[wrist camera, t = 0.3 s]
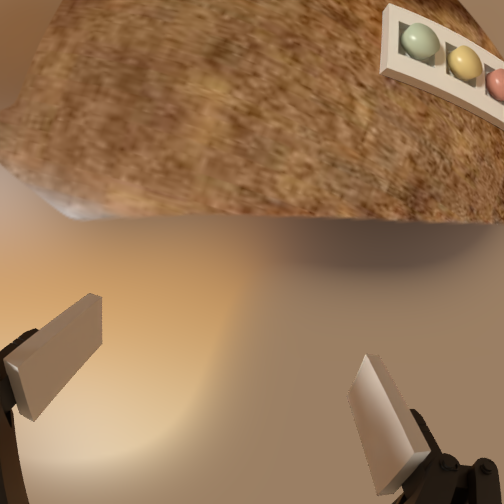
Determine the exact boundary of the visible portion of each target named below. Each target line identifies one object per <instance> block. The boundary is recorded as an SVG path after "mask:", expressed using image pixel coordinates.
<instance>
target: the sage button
mask: <svg viewBox="0 0 504 504" xmlns="http://www.w3.org/2000/svg"><path fill="white" fill-rule="evenodd" d="M400 41H401V45H402V47H403V49H404V50H405V51H406V52H407V53H408V54H409V55H410V56H411V57H413V58H415V59H417V60H426V59H427V58H429V57H430V56H432V55H433V54H435V53H436V52H438V51H439V49H440V42H439V39H438V37H437V35H436V34H435V32H434V31H433V30H432V29H431V28H429V27H428V26H426V25H424V24H422V23H413V24H412V25H410V26H409V27H408V28H407V29H406V30H405V31H404V32H403V33H402V35H401V38H400Z"/></svg>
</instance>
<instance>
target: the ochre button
mask: <svg viewBox="0 0 504 504" xmlns="http://www.w3.org/2000/svg"><path fill="white" fill-rule="evenodd" d="M447 63H448V66H449V68H450V70H451V72H452V73H453V74H454V75H455V76H456V77H457V78H458V79H460V80H463V81H468V80H470V79H473V78H475V77H477V76H480V75H481V73H482V70H483V67H482V63H481V60H480V58H479V56H478V55H477V54H476V52H475V51H474V50H473V49H471V48H470V47H468V46H465V45H462V46H460V47H458V48H456V49H455V50H453V51H451V52H450V53H449V54H448V56H447Z"/></svg>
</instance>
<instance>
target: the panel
mask: <svg viewBox="0 0 504 504" xmlns="http://www.w3.org/2000/svg"><path fill="white" fill-rule="evenodd" d="M413 23H422V24H424V25H426V26H428V27H429V28H431V29H432V30H433V31H434V32H435V34H436V35H437V37H438V39H439V42H440V49H439V51H438V52H436V53H435V54H433V55H432V56H430V57H429V58H427V59H426V60H417V59H415V58H413V57H411V56H410V55H409V54H408V53H407V52H406V51H405V50H404V49H403V47H402V45H401V41H400V38H401V35H402V33H403V32H404V31H405V30H406V29H407V28H408V27H409V26H410V25H412V24H413ZM462 45H465V46H468V47H470V48H471V49H473V50H474V51H475V52H476V54H477V55H478V56H479V58H480V60H481V63H482V67H483V70H482V73H481V75H480V76H477V77H475V78H473V79H470V80H468V81H463V80H460V79H458V78H457V77H456V76H455V75H454V74H453V73H452V72H451V70H450V68H449V66H448V63H447V56H448V54H449V53H450V52H451V51H453V50H455V49H456V48H458V47H460V46H462ZM500 68H502V69H504V62H503V61H501V60H500V59H499V58H497V57H496V56H494V55H492V54H491V53H489V52H488V51H486V50H485V49H483V48H481V47H480V46H478V45H476V44H475V43H473V42H471V41H470V40H468V39H466V38H464V37H463V36H461V35H459V34H457V33H455V32H453V31H451V30H449V29H448V28H446V27H444V26H442V25H440V24H437V23H435V22H433V21H431V20H429V19H427V18H425V17H422V16H420V15H418V14H415V13H413V12H411V11H408V10H406V9H403V8H401V7H398V6H396V5H393V4H390V3H389V4H388V5H387V7H386V8H385V9H384V11H383V21H382V45H381V61H380V75H383V76H386V77H389V78H392V79H395V80H398V81H400V82H403V83H406V84H409V85H411V86H414V87H416V88H419V89H421V90H424V91H426V92H429V93H431V94H433V95H436V96H438V97H440V98H442V99H445V100H447V101H449V102H451V103H453V104H455V105H457V106H459V107H461V108H463V109H465V110H467V111H469V112H471V113H473V114H475V115H477V116H479V117H481V118H483V119H485V120H486V121H488V122H490V123H492V124H493V125H495V126H497V127H499V128H500V129H502V130H504V101H497V100H496V99H494V98H493V97H492V96H491V94H490V93H489V91H488V89H487V86H486V81H485V78H486V75H487V74H488V73H489V72H492V71H495V70H497V69H500Z"/></svg>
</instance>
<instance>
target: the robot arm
mask: <svg viewBox="0 0 504 504" xmlns="http://www.w3.org/2000/svg"><path fill="white" fill-rule="evenodd" d="M101 344H102V297H100V296H97V295H94V294H91V293H89V294H87V295H86V296H84V297H83V298H82V299H80V300H79V301H78V302H76V303H75V304H74V305H72V306H71V307H69V308H68V309H67V310H65V311H64V312H63V313H61V314H60V315H59V316H57V317H56V318H55V319H53V320H52V321H51V322H49V323H48V324H47V325H45V326H44V327H43V328H41V329H40V330H38V329H36V328H35V329H32V330H30V331H27V332H25V333H23V334H22V335H21V336H19V337H18V339H16V340H14V341H13V343H10V344H9V345H8V346H6V347H5V348H4V349H2V350H1V351H0V504H29V502H28V498H27V494H26V490H25V485H24V481H23V476H22V471H21V466H20V461H19V455H18V449H17V442H16V435H15V426H14V416H13V411H12V409H11V408H12V407H13V406H14V405H15V404H17V407H18V410H19V413H20V414H21V415H23V416H24V417H26V418H28V419H29V420H31V421H33V422H34V421H35V420H36V419H37V418H38V417H39V415H40V414H41V413H42V412H43V410H44V409H45V408H46V407H47V406H48V405H49V404H50V402H51V401H52V400H53V399H54V397H55V396H56V395H57V394H58V393H59V392H60V391H61V389H62V388H63V387H64V386H65V385H66V384H67V383H68V381H69V380H70V379H71V378H72V377H73V376H74V375H75V373H76V372H77V371H78V370H79V369H80V368H81V367H82V365H83V364H84V363H85V362H86V361H87V360H88V359H89V357H91V355H92V354H93V353H94V352H95V351H96V350H97V349H98V348H99V347H100V345H101ZM347 399H348V402H349V405H350V408H351V411H352V414H353V417H354V420H355V424H356V427H357V430H358V433H359V436H360V439H361V443H362V446H363V449H364V452H365V456H366V459H367V462H368V466H369V469H370V472H371V476H372V479H373V483H374V486H375V490H376V493H377V496H379V495H388V494H394V493H395V492H396V491H397V490H398V489H399V487H401V485H402V488H403V491H404V492H403V493H402V494H401V495H400V496H399V497H398V498H397V499H396V500H395V501H394V502H393V503H392V504H502V503H501V492H500V482H499V475H498V469H497V466H496V465H495V463H494V462H493V461H491V460H490V459H487V458H480V459H478V460H477V461H476V462H475V463H474V464H473V466H464V465H460V464H459V462H458V461H457V459H456V458H455V457H453V456H451V455H449V454H446V453H444V454H442V452H441V450H440V448H439V446H438V445H437V443H436V441H435V439H434V437H433V435H432V433H431V432H430V430H429V428H428V426H426V423H425V421H424V419H423V417H422V416H421V415H420V414H419V413H418V412H417V411H416V410H415V409H409V408H408V406H407V404H406V402H405V400H404V399H403V397H402V395H401V393H400V392H399V390H398V388H397V386H396V384H395V382H394V381H393V379H392V377H391V375H390V373H389V372H388V370H387V368H386V366H385V365H384V363H383V361H382V360H381V358H380V356H379V355H371V354H366V355H365V357H364V359H363V362H362V364H361V366H360V369H359V371H358V373H357V375H356V377H355V379H354V382H353V384H352V386H351V388H350V390H349V392H348V394H347Z"/></svg>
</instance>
